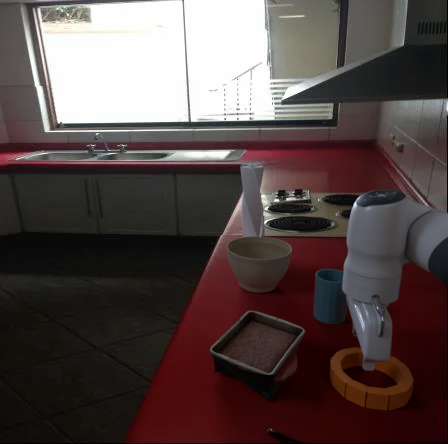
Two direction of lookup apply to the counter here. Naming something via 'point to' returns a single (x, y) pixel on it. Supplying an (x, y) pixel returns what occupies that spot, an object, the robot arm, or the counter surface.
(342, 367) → the ring
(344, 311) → the cup
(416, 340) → the counter surface
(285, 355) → the baking dish
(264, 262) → the planter bowl
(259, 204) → the skyscraper
